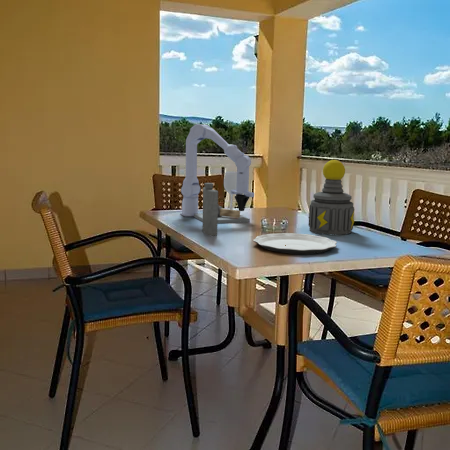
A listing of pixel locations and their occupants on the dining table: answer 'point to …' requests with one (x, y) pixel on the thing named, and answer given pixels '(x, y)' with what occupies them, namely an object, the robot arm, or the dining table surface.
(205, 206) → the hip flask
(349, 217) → the decorative lamp
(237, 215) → the curved bar with hub
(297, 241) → the plate
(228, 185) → the wineglass
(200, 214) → the grey flat slab
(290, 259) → the dining table surface
